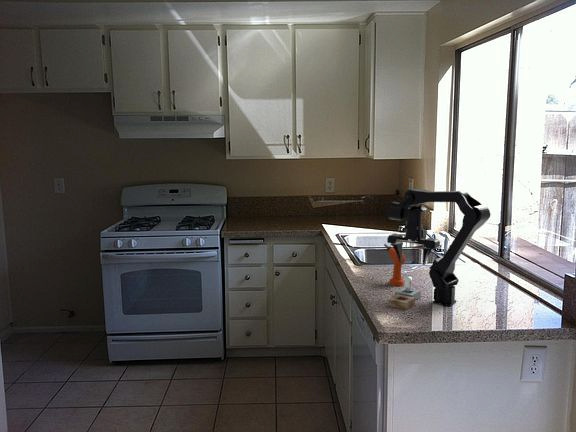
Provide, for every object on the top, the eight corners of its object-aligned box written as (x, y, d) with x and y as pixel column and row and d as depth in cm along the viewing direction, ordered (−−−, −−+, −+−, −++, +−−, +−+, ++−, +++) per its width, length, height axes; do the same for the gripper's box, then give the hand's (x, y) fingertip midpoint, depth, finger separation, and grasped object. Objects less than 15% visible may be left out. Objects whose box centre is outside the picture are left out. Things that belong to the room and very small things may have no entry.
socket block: (415, 304, 184) (415, 297, 184) (406, 309, 179) (406, 302, 178) (397, 300, 189) (397, 294, 188) (388, 305, 183) (388, 299, 183)
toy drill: (388, 270, 225) (390, 237, 221) (405, 288, 207) (409, 253, 203) (377, 271, 224) (379, 238, 220) (394, 288, 206) (397, 253, 202)
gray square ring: (420, 297, 192) (420, 290, 192) (412, 302, 187) (412, 295, 187) (403, 293, 197) (403, 287, 196) (394, 298, 191) (394, 291, 191)
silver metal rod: (412, 297, 192) (412, 276, 191) (409, 299, 190) (409, 278, 189) (406, 296, 194) (406, 275, 192) (403, 298, 192) (403, 277, 190)
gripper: (445, 221, 193) (443, 262, 196) (399, 217, 204) (398, 255, 206) (435, 226, 184) (433, 268, 187) (387, 221, 195) (386, 261, 198)
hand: (412, 263), depth 195 cm, fingers open, 9 cm apart
